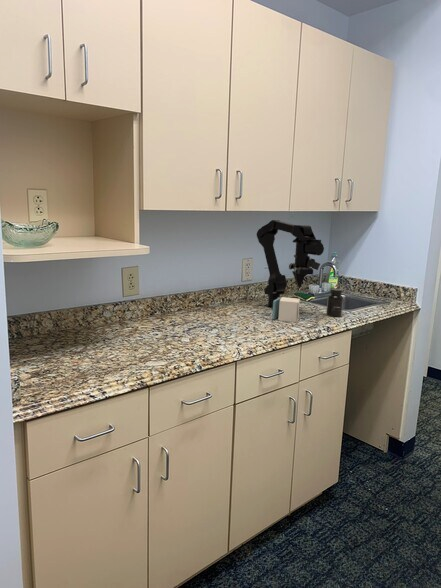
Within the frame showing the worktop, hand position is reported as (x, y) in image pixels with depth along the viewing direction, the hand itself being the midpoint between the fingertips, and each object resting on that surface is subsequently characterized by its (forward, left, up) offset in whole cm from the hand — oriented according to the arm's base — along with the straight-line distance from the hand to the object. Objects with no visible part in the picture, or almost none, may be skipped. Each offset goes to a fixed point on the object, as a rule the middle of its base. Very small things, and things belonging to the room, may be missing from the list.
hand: (299, 287), depth 207 cm
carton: (+12, -7, -12) cm, 19 cm away
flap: (+10, -13, -12) cm, 20 cm away
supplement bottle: (+4, +16, -12) cm, 21 cm away
